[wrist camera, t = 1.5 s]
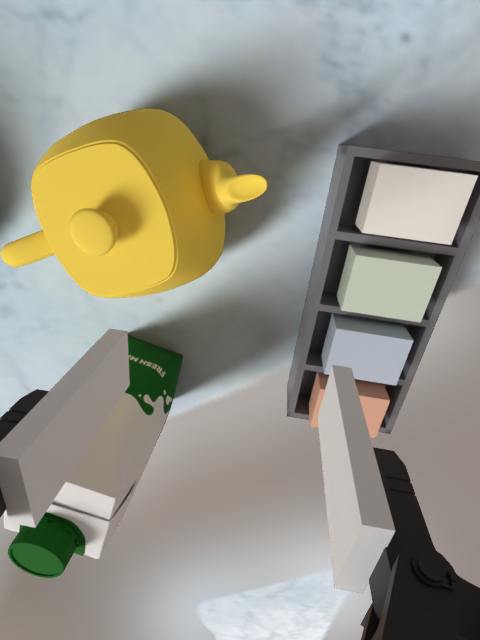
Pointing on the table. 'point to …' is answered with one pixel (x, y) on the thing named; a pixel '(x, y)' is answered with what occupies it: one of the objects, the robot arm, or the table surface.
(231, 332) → the table surface
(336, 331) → the key
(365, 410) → the key
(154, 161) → the teapot
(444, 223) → the key
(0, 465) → the robot arm
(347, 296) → the key
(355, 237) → the keypad base
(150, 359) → the milk carton
